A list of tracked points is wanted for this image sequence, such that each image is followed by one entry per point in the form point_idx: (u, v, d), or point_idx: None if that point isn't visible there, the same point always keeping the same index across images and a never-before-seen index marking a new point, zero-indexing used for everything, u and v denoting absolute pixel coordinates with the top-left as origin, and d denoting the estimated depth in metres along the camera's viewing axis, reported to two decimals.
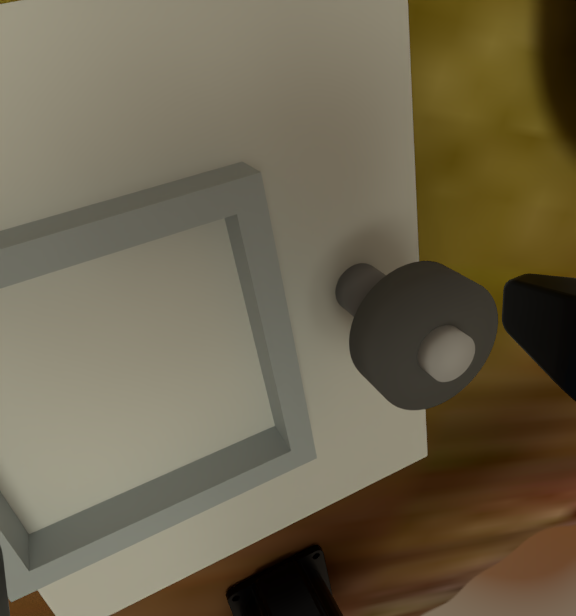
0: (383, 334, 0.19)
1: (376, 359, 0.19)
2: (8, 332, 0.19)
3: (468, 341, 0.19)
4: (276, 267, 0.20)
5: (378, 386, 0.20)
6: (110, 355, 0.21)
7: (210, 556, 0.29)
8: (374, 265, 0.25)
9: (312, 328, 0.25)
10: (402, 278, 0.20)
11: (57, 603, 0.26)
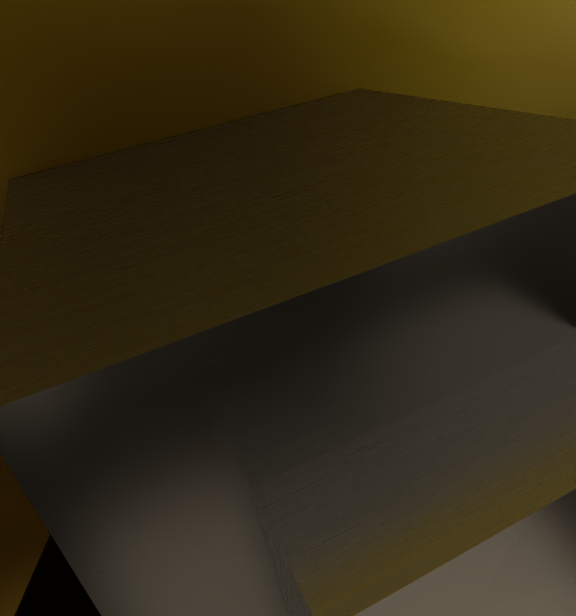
0: None
1: None
2: None
3: None
4: None
5: None
6: None
7: None
8: None
9: None
10: None
11: None
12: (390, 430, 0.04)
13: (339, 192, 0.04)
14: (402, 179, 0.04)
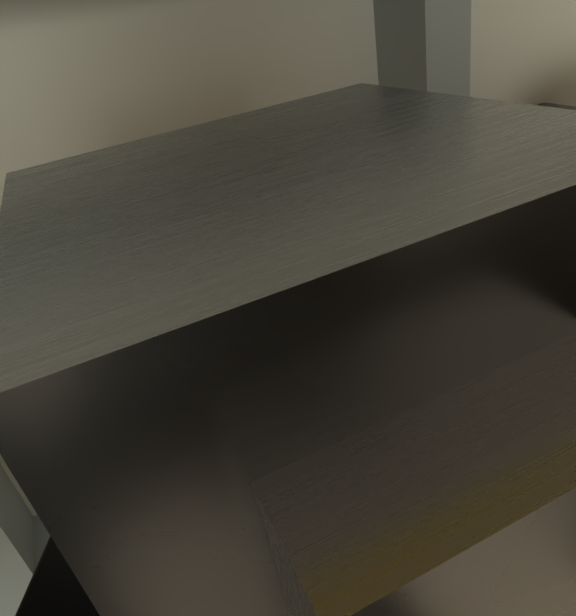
0: None
1: None
2: (2, 143, 0.11)
3: None
4: (466, 53, 0.12)
5: None
6: None
7: None
8: None
9: None
10: None
11: None
12: (395, 423, 0.03)
13: (341, 184, 0.04)
14: (407, 168, 0.04)
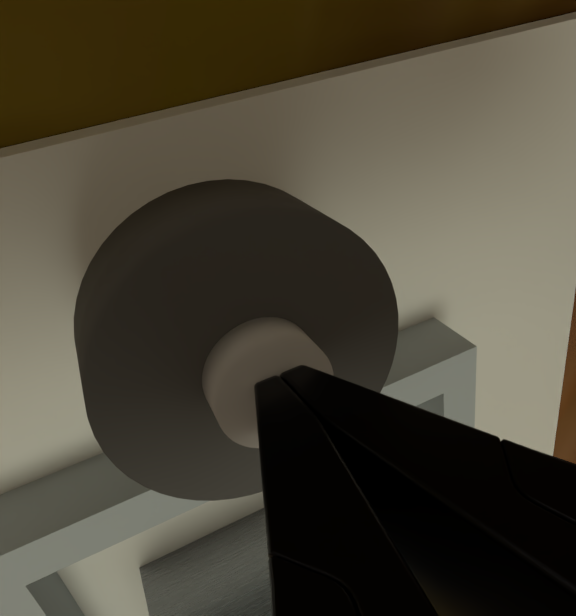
0: (202, 497, 0.10)
1: (252, 491, 0.10)
2: None
3: (240, 373, 0.08)
4: (117, 508, 0.13)
5: None
6: None
7: (549, 400, 0.22)
8: None
9: None
10: None
11: None
12: None
13: None
14: None
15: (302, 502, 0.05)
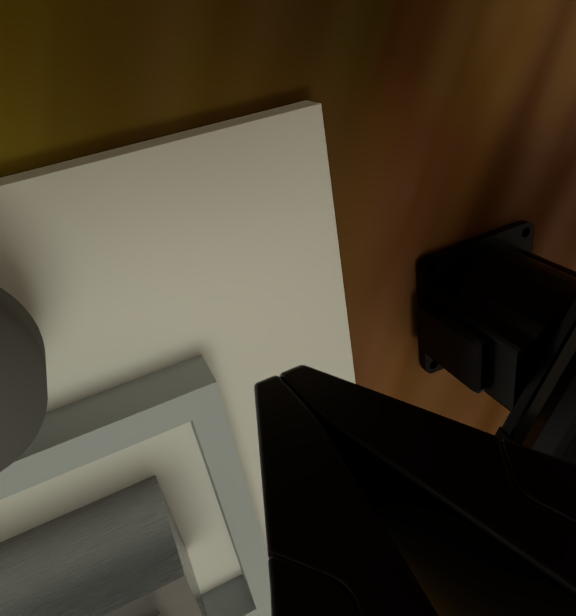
0: None
1: None
2: None
3: None
4: None
5: None
6: None
7: None
8: None
9: None
10: None
11: None
12: None
13: None
14: None
15: (302, 502, 0.05)
